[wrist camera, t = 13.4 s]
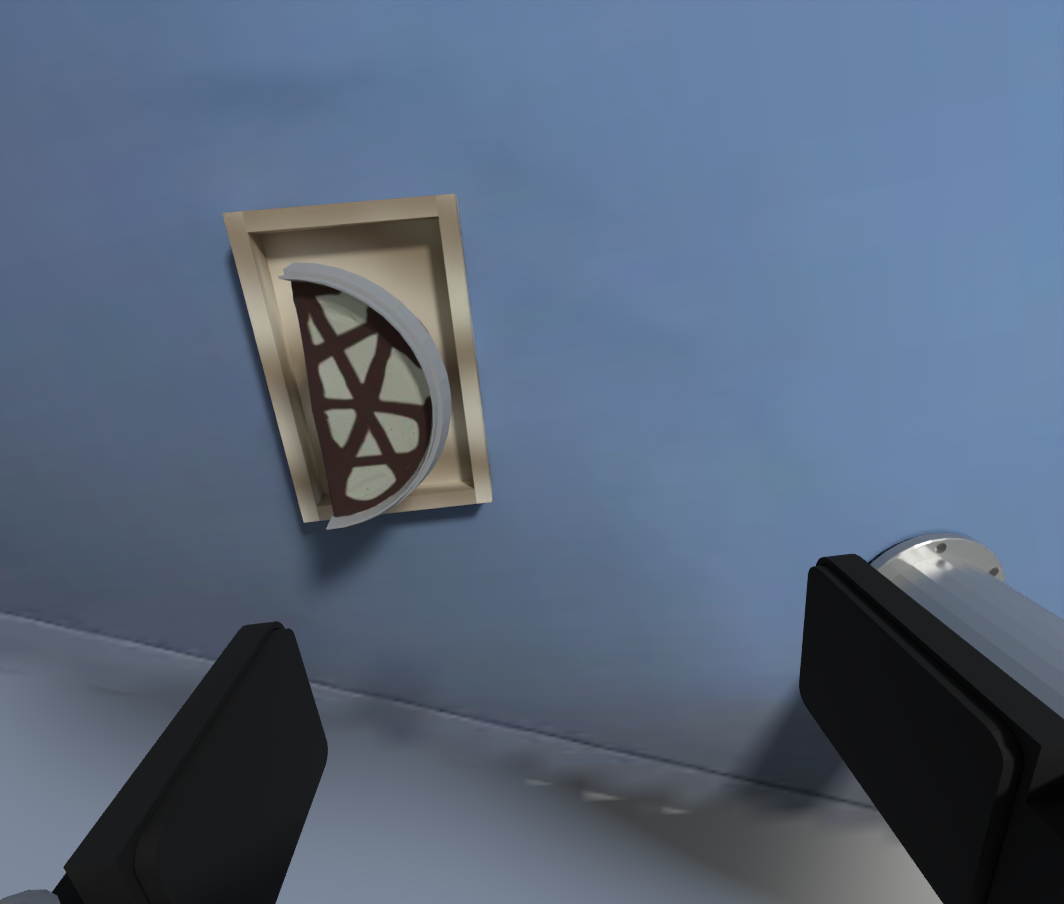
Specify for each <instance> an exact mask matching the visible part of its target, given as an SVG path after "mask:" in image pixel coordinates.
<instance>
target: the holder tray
mask: <svg viewBox="0 0 1064 904" xmlns="http://www.w3.org/2000/svg"><path fill="white" fill-rule="evenodd" d="M223 217H224V221H225V225H226V229H227V232H228V236H229V240H230V244H231V248H232V251H233V255H234V259H235V263H236V267H237V270H238V274H239V278H240V282H241V286H242V289H243V293H244V297H245V301H246V305H247V308H248V312H249V316H250V320H251V324H252V327H253V331H254V335H255V339H256V343H257V347H258V350H259V354H260V358H261V362H262V366H263V369H264V373H265V377H266V381H267V385H268V388H269V392H270V396H271V400H272V404H273V407H274V411H275V415H276V419H277V423H278V426H279V430H280V434H281V438H282V442H283V445H284V449H285V453H286V457H287V461H288V464H289V468H290V472H291V476H292V480H293V484H294V487H295V491H296V495H297V499H298V503H299V506H300V510H301V514H302V518H303V522H304V523H306V522H315V521H324V520H330V519H331V517H332V515H333V509H332V504H331V498H330V493H329V487H328V482H327V477H326V471H325V466H324V461H323V456H322V451H321V447H320V442H319V438H318V434H317V430H316V426H315V422H314V417H313V413H312V407H311V400H310V393H309V385H308V377H307V370H306V363H305V357H304V350H303V344H302V338H301V332H300V327H299V321H298V316H297V312H296V307H295V304H294V302H293V292H292V287H291V281H287V280H283V279H279V277H278V276H282V275H284V272H283V269H284V268H286V267H287V266H289V265H290V264H292V263H293V262H301V263H317V264H322V265H327V266H332V267H337V268H340V269H343V270H346V271H349V272H351V273H354V274H357V275H360V276H362V277H364V278H366V279H368V280H369V281H371V282H373V283H375V284H377V285H379V286H380V287H382V288H384V289H385V290H386V291H388V292H389V293H390V294H392V295H393V296H394V297H396V298H397V299H398V300H400V301H401V302H402V303H403V304H404V305H405V306H406V307H407V308H408V309H409V310H410V311H411V312H412V313H413V314H414V315H415V316H416V317H417V318H418V319H419V320H420V321H421V323H422V324H423V325H424V327H425V328H426V329H427V331H428V332H429V334H430V336H431V338H432V340H433V341H434V343H435V345H436V347H437V349H438V351H439V353H440V355H441V358H442V361H443V363H444V366H445V369H446V372H447V375H448V381H449V387H450V392H451V419H450V425H449V432H448V436H447V439H446V442H445V445H444V448H443V450H442V453H441V454H440V456H439V458H438V460H437V462H436V464H435V466H434V467H433V469H432V470H431V471H430V473H429V474H428V475H427V476H426V478H425V479H424V480H423V482H422V483H421V484H420V485H419V486H417V487H416V488H415V489H414V490H413V491H412V492H411V493H410V494H409V495H408V496H407V497H406V498H405V499H404V500H402V501H401V502H400V503H399V504H397V505H396V506H394V507H393V508H391V509H390V510H388V511H387V512H385V513H383V514H387V513H396V512H405V511H415V510H424V509H433V508H442V507H451V506H460V505H469V504H478V503H487V502H492V483H491V475H490V466H489V458H488V450H487V441H486V433H485V425H484V417H483V408H482V400H481V392H480V383H479V375H478V367H477V358H476V350H475V342H474V334H473V325H472V317H471V309H470V300H469V292H468V284H467V275H466V267H465V259H464V251H463V242H462V234H461V226H460V217H459V209H458V201H457V198H456V195H455V194H446V195H434V196H422V197H410V198H398V199H386V200H374V201H362V202H350V203H338V204H326V205H314V206H301V207H289V208H277V209H265V210H253V211H241V212H229V213H223Z"/></svg>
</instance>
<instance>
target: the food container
mask: <svg viewBox="0 0 1064 904" xmlns="http://www.w3.org/2000/svg"><path fill="white" fill-rule="evenodd" d="M283 272H284V275H282V276H278V277H279V279H283V280H287V281H291V287H292V292H293V302H294V304H295V307H296V312H297V316H298V321H299V327H300V332H301V338H302V344H303V350H304V357H305V363H306V370H307V377H308V385H309V393H310V400H311V407H312V413H313V417H314V422H315V426H316V430H317V434H318V438H319V442H320V447H321V451H322V456H323V461H324V466H325V471H326V477H327V482H328V487H329V493H330V498H331V504H332V509H333V515H332V517H331V519H330V521H329V524H328V526H327V528H326V530H329V529H336V528H343V527H347V526H350V525H354V524H357V523H361V522H364V521H368V520H370V519H372V518H374V517H376V516H379V515H381V514H383V513H385V512H387V511H388V510H390V509H391V508H393V507H394V506H396V505H397V504H399V503H400V502H401V501H402V500H404V499H405V498H406V497H407V496H408V495H409V494H410V493H411V492H412V491H413V490H414V489H415V488H416V487H417V486H419V485H420V484H421V483H422V482H423V480H424V479H425V478H426V476H427V475H428V474H429V473H430V471H431V470H432V469H433V467H434V466H435V464H436V462H437V460H438V458H439V456H440V454H441V453H442V450H443V448H444V445H445V442H446V439H447V436H448V432H449V425H450V419H451V392H450V387H449V381H448V375H447V372H446V369H445V366H444V363H443V361H442V358H441V355H440V353H439V351H438V349H437V347H436V345H435V343H434V341H433V340H432V338H431V336H430V334H429V332H428V331H427V329H426V328H425V327H424V325H423V324H422V323H421V321H420V320H419V319H418V318H417V317H416V316H415V315H414V314H413V313H412V312H411V311H410V310H409V309H408V308H407V307H406V306H405V305H404V304H403V303H402V302H401V301H400V300H398V299H397V298H396V297H394V296H393V295H392V294H390V293H389V292H388V291H386V290H385V289H384V288H382V287H380V286H379V285H377V284H375V283H373V282H371V281H369V280H368V279H366V278H364V277H362V276H360V275H357V274H354V273H351V272H349V271H346V270H343V269H340V268H337V267H332V266H327V265H322V264H317V263H301V262H293V263H292V264H290V265H289V266H287V267H286V268H284V269H283Z"/></svg>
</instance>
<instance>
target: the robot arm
mask: <svg viewBox="0 0 1064 904" xmlns="http://www.w3.org/2000/svg"><path fill="white" fill-rule="evenodd" d="M799 688H800V693H801V697H802V699H803V702H804V704H805V706H806V707H807V709H808V710H809V712H810V713H811V715H812V716H813V717H814V719H815V720H816V722H817V723H818V725H819V726H820V727H821V729H822V730H823V732H824V733H825V735H826V736H827V738H828V739H829V740H830V742H831V743H832V745H833V746H834V748H835V749H836V750H837V752H838V753H839V755H840V756H841V758H842V759H843V760H844V762H845V763H846V765H847V766H848V768H849V769H850V771H851V772H852V773H853V775H854V776H855V778H856V779H857V781H858V782H859V783H860V785H861V786H862V788H863V789H864V791H865V792H866V793H867V795H868V796H869V798H870V799H871V801H872V802H873V804H874V805H875V806H876V808H877V809H878V811H879V812H880V814H881V815H882V816H883V818H884V819H885V821H886V822H887V824H888V825H889V826H890V828H891V829H892V831H893V832H894V834H895V835H896V837H897V838H898V839H899V841H900V842H901V844H902V845H903V847H904V848H905V849H906V851H907V852H908V854H909V855H910V857H911V858H912V859H913V861H914V862H915V864H916V865H917V867H918V868H919V870H920V871H921V872H922V874H923V875H924V877H925V878H926V880H927V881H928V882H929V884H930V885H931V887H932V888H933V890H934V891H935V892H936V894H937V895H938V897H939V898H940V900H941V901H942V902H943V904H1064V620H1063V619H1062V618H1060V617H1058V616H1057V615H1055V614H1054V613H1052V612H1050V611H1049V610H1047V609H1045V608H1044V607H1042V606H1041V605H1039V604H1037V603H1036V602H1034V601H1033V600H1031V599H1029V598H1028V597H1026V596H1024V595H1023V594H1021V593H1020V592H1018V591H1016V590H1015V589H1013V588H1012V587H1010V586H1008V585H1007V584H1005V576H1004V572H1003V569H1002V566H1001V563H1000V562H999V560H998V559H997V557H996V556H995V554H994V553H993V552H991V551H990V550H989V549H988V548H987V547H985V546H984V545H982V544H980V543H978V542H977V541H975V540H973V539H971V538H969V537H966V536H963V535H960V534H953V533H932V534H926V535H922V536H918V537H914V538H912V539H909V540H907V541H904V542H902V543H900V544H898V545H896V546H894V547H893V548H891V549H889V550H888V551H886V552H884V553H883V554H882V555H881V556H879V557H878V558H877V559H876V560H874V561H873V562H872V563H871V564H869V563H867V562H866V561H865V560H864V559H862V558H861V557H860V556H858V555H856V554H846V555H837V556H829V557H822V558H820V559H819V560H818V562H817V564H816V566H814V567H811V568H810V570H809V573H808V581H807V594H806V606H805V618H804V630H803V643H802V655H801V667H800V679H799ZM327 754H328V747H327V740H326V737H325V733H324V730H323V727H322V724H321V720H320V717H319V714H318V710H317V707H316V704H315V700H314V697H313V694H312V691H311V687H310V684H309V681H308V677H307V674H306V671H305V667H304V664H303V661H302V658H301V654H300V651H299V648H298V644H297V641H296V638H295V635H294V632H293V631H292V630H291V629H289V628H288V629H285V628H284V626H283V625H282V624H281V623H280V622H277V621H276V622H268V623H259V624H251V625H245V626H243V627H242V628H241V629H240V630H239V631H238V632H237V634H236V635H235V636H234V638H233V639H232V640H231V642H230V643H229V644H228V646H227V647H226V648H225V650H224V651H223V652H222V654H221V655H220V657H219V658H218V659H217V661H216V662H215V663H214V665H213V666H212V667H211V669H210V670H209V671H208V673H207V674H206V675H205V677H204V678H203V679H202V681H201V682H200V683H199V685H198V686H197V688H196V689H195V690H194V692H193V693H192V694H191V696H190V697H189V698H188V700H187V701H186V702H185V704H184V705H183V706H182V708H181V709H180V710H179V712H178V713H177V715H176V716H175V717H174V719H173V720H172V721H171V723H170V724H169V725H168V727H167V728H166V729H165V731H164V732H163V733H162V735H161V736H160V737H159V739H158V740H157V742H156V743H155V744H154V746H153V747H152V748H151V750H150V751H149V752H148V754H147V755H146V756H145V758H144V759H143V760H142V762H141V763H140V764H139V766H138V767H137V769H136V770H135V771H134V773H133V774H132V775H131V777H130V778H129V780H128V781H127V782H126V783H125V785H124V786H123V787H122V789H121V790H120V791H119V793H118V794H117V795H116V797H115V798H114V800H113V801H112V802H111V804H110V805H109V806H108V808H107V809H106V810H105V812H104V813H103V814H102V816H101V817H100V818H99V820H98V821H97V822H96V824H95V825H94V826H93V828H92V829H91V831H90V832H89V833H88V835H87V836H86V837H85V839H84V840H83V841H82V843H81V844H80V846H79V847H78V848H77V849H76V851H75V852H74V854H73V855H72V856H71V857H70V859H69V860H68V861H67V863H66V864H65V866H64V869H65V871H66V874H65V875H64V876H63V878H62V879H61V881H60V882H59V883H58V885H57V886H56V887H55V889H54V890H53V892H52V893H51V892H50V891H48V890H27V891H24V892H21V893H17V894H14V895H11V896H8V897H5V898H3V899H1V900H0V904H275V903H276V901H277V898H278V895H279V892H280V889H281V887H282V884H283V881H284V878H285V876H286V873H287V870H288V867H289V865H290V862H291V859H292V856H293V854H294V851H295V848H296V845H297V843H298V840H299V837H300V834H301V832H302V829H303V826H304V823H305V820H306V817H307V815H308V812H309V809H310V807H311V804H312V801H313V798H314V796H315V793H316V790H317V787H318V785H319V782H320V779H321V776H322V773H323V771H324V768H325V765H326V761H327Z"/></svg>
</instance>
